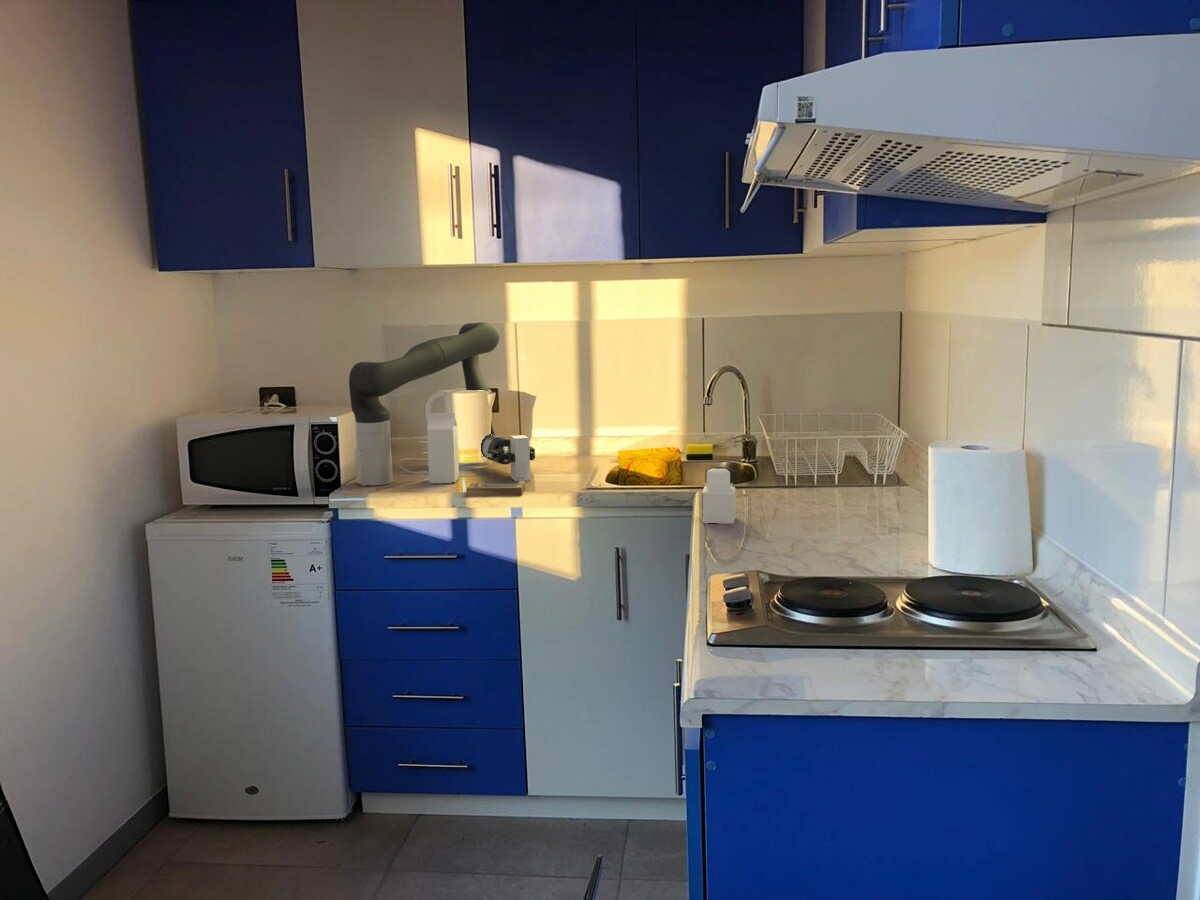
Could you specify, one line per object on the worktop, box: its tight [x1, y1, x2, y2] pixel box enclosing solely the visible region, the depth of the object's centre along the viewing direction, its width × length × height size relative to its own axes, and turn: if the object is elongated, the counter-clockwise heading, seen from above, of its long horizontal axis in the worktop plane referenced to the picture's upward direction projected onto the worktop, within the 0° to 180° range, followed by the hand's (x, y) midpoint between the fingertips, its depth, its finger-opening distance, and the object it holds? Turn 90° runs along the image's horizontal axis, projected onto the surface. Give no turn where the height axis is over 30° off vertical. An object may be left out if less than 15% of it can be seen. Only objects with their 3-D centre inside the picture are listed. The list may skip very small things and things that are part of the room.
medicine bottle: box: [701, 466, 736, 525], centre depth 235 cm, size 7×7×12 cm
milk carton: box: [426, 412, 460, 484], centre depth 288 cm, size 7×7×19 cm
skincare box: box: [509, 434, 531, 482], centre depth 290 cm, size 6×4×12 cm
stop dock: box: [466, 480, 526, 497], centre depth 278 cm, size 18×14×2 cm
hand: (523, 457), depth 287 cm, fingers closed on skincare box, 5 cm apart
